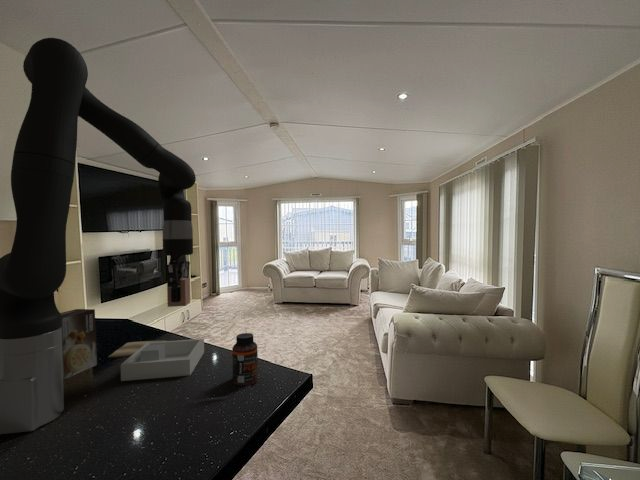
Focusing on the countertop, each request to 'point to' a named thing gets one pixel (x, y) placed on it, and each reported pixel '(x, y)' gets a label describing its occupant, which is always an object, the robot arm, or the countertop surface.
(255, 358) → the supplement bottle
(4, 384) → the robot arm
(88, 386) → the countertop surface
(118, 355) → the board
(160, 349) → the plain block
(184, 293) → the labelled block
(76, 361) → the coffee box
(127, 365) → the bin
